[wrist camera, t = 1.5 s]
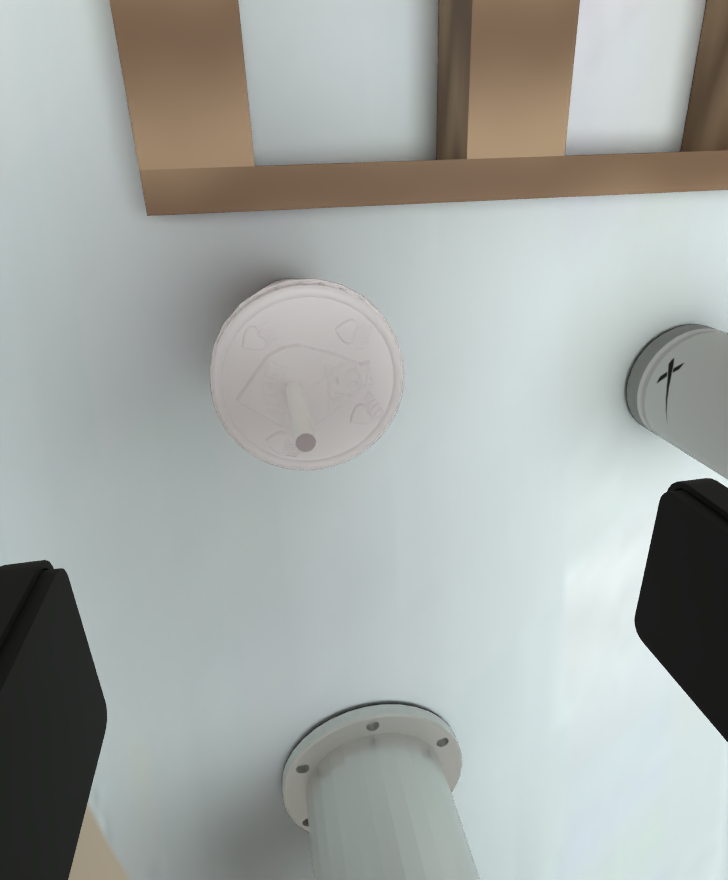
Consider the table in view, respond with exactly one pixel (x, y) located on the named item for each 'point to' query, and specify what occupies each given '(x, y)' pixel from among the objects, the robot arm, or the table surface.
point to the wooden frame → (458, 115)
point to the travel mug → (685, 392)
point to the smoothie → (306, 374)
